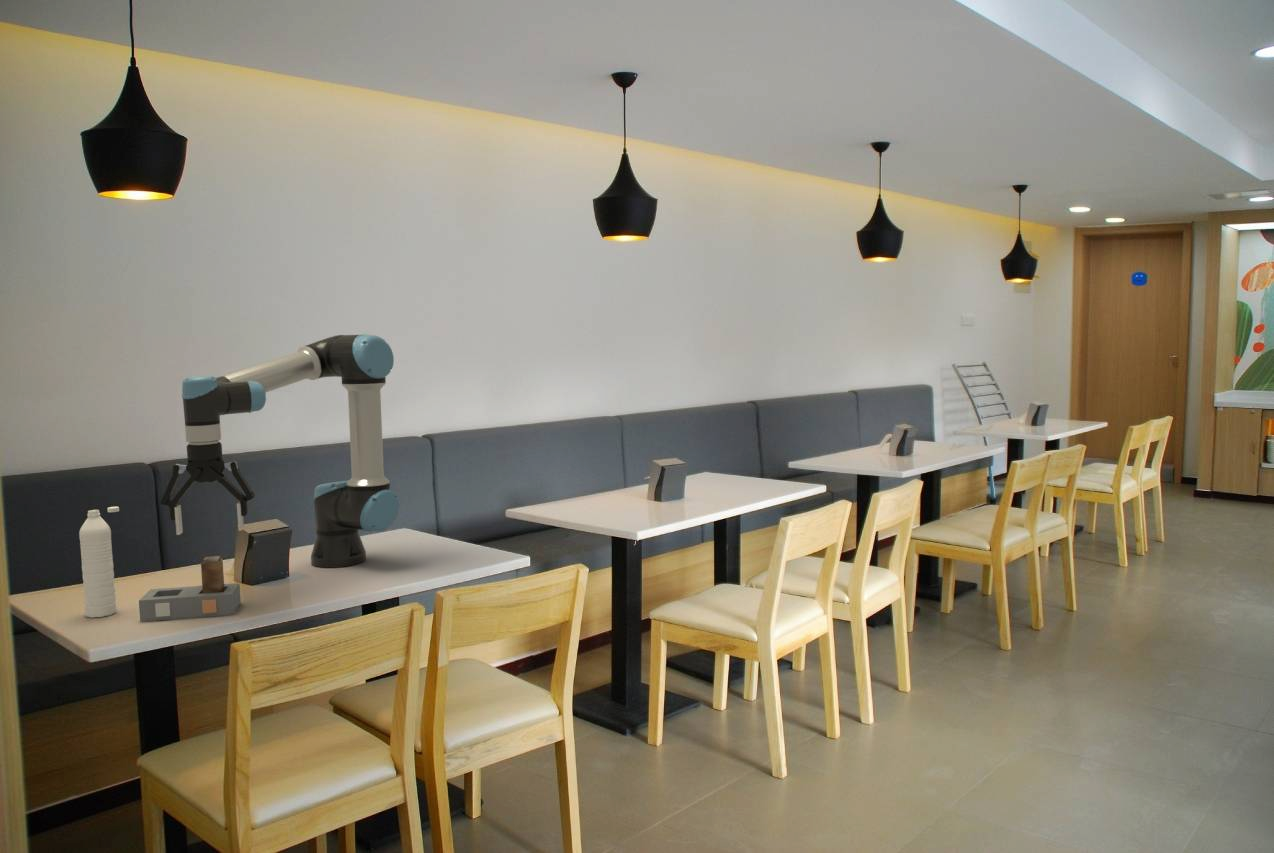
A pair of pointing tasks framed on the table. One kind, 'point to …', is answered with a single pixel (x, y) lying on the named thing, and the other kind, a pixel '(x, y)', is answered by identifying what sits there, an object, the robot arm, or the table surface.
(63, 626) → the table surface
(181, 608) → the socket block
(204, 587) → the plug
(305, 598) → the table surface
